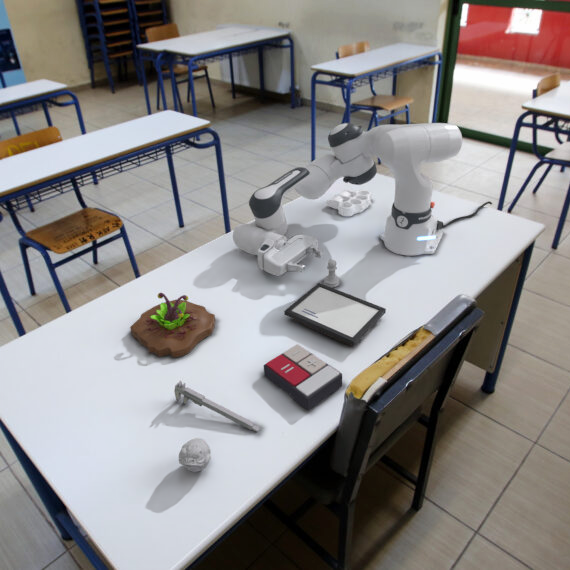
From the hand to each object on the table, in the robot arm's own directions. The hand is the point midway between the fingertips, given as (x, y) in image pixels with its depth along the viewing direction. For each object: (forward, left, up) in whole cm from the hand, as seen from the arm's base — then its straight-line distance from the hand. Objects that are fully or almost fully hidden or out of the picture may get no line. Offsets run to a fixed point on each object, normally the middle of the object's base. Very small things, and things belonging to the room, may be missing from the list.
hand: (312, 261), depth 148 cm
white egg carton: (-48, -15, -5) cm, 51 cm away
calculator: (+37, +23, -5) cm, 44 cm away
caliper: (+56, +14, -5) cm, 58 cm away
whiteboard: (+14, +17, -5) cm, 22 cm away
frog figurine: (+68, +20, -5) cm, 71 cm away
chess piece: (0, +7, -5) cm, 8 cm away
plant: (+42, -15, -5) cm, 45 cm away
